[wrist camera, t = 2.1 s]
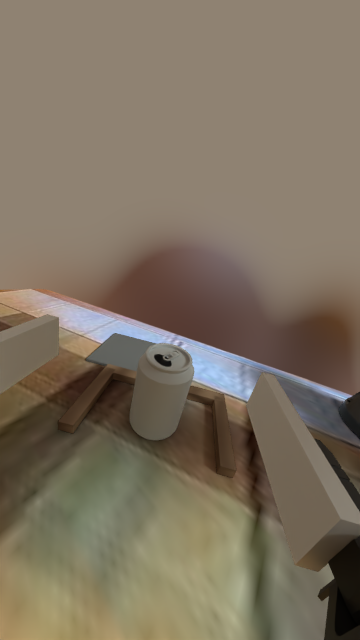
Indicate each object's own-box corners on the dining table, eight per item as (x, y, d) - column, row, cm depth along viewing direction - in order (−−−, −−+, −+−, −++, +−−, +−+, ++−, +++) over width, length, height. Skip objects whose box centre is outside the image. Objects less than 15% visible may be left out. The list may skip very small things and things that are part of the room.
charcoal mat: (161, 346, 48) (161, 345, 48) (148, 377, 36) (148, 375, 36) (114, 334, 49) (115, 333, 49) (86, 360, 37) (86, 358, 36)
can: (119, 413, 27) (129, 345, 23) (158, 394, 33) (172, 336, 28) (146, 456, 23) (165, 381, 19) (187, 426, 28) (209, 362, 24)
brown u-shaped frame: (221, 400, 35) (223, 394, 34) (232, 477, 23) (236, 470, 22) (107, 370, 35) (108, 363, 35) (58, 429, 23) (57, 421, 23)
